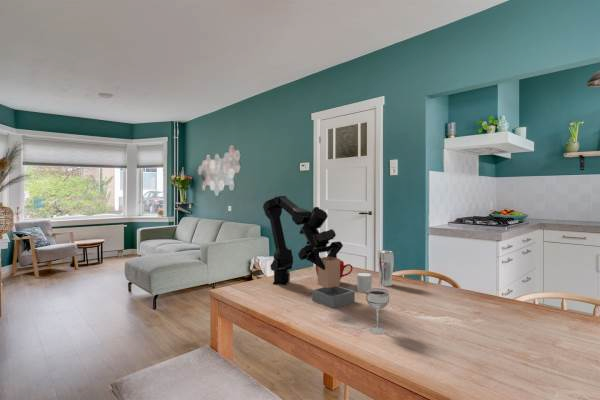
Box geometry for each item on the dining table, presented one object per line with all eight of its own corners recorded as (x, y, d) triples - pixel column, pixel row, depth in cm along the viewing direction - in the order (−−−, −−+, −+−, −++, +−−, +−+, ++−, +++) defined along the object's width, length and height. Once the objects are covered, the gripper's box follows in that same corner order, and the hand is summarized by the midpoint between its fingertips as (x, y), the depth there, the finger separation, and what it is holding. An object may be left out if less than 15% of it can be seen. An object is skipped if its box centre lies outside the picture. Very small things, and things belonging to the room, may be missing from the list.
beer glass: (374, 283, 151) (374, 251, 151) (386, 281, 154) (386, 249, 154) (384, 287, 145) (384, 253, 145) (397, 285, 148) (397, 252, 148)
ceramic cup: (354, 287, 146) (354, 265, 145) (315, 287, 146) (315, 265, 146) (350, 279, 159) (350, 258, 158) (315, 279, 159) (315, 259, 159)
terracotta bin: (317, 284, 127) (317, 258, 127) (329, 281, 131) (329, 256, 130) (327, 288, 122) (327, 261, 122) (339, 285, 126) (339, 259, 125)
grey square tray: (312, 300, 129) (311, 290, 129) (333, 294, 136) (333, 284, 136) (333, 308, 120) (333, 297, 120) (354, 301, 128) (354, 291, 127)
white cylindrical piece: (373, 293, 138) (373, 276, 138) (357, 293, 138) (357, 276, 138) (370, 288, 145) (370, 272, 144) (355, 288, 145) (354, 272, 145)
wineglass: (381, 337, 96) (381, 296, 96) (362, 330, 101) (361, 291, 101) (393, 330, 101) (393, 291, 101) (373, 324, 106) (373, 286, 105)
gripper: (302, 224, 123) (321, 258, 115) (339, 221, 134) (359, 252, 126) (290, 242, 130) (307, 276, 122) (327, 238, 141) (345, 269, 132)
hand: (331, 268), depth 125 cm, fingers closed on terracotta bin, 6 cm apart
